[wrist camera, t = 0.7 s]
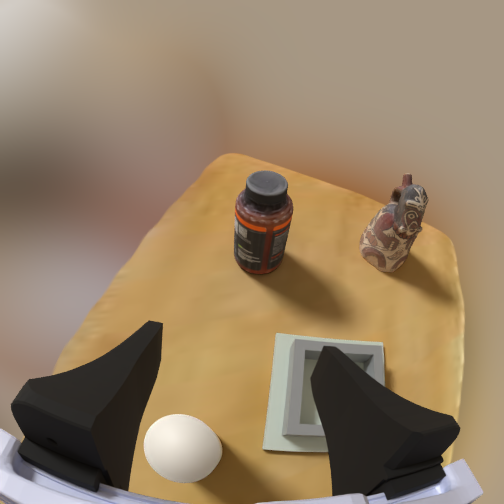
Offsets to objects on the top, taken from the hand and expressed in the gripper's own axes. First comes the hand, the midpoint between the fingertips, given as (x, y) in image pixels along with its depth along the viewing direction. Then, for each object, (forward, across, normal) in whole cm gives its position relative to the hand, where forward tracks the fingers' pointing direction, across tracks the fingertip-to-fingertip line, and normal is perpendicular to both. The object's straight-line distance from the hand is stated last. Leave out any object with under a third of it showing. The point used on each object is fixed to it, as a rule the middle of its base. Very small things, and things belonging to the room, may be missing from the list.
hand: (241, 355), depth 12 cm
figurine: (+25, -20, 0) cm, 32 cm away
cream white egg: (+5, +1, +16) cm, 17 cm away
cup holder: (+9, -11, +11) cm, 18 cm away
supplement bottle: (+24, -3, +3) cm, 24 cm away
